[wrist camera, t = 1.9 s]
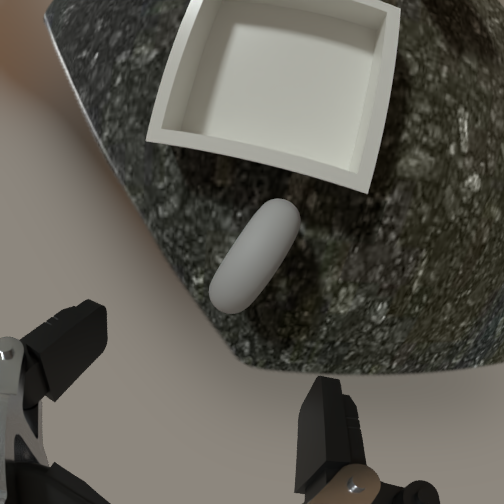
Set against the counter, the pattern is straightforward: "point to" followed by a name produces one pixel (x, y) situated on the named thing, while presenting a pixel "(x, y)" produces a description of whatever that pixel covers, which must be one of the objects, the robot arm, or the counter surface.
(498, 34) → the counter surface
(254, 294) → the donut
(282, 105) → the tray
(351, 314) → the counter surface
